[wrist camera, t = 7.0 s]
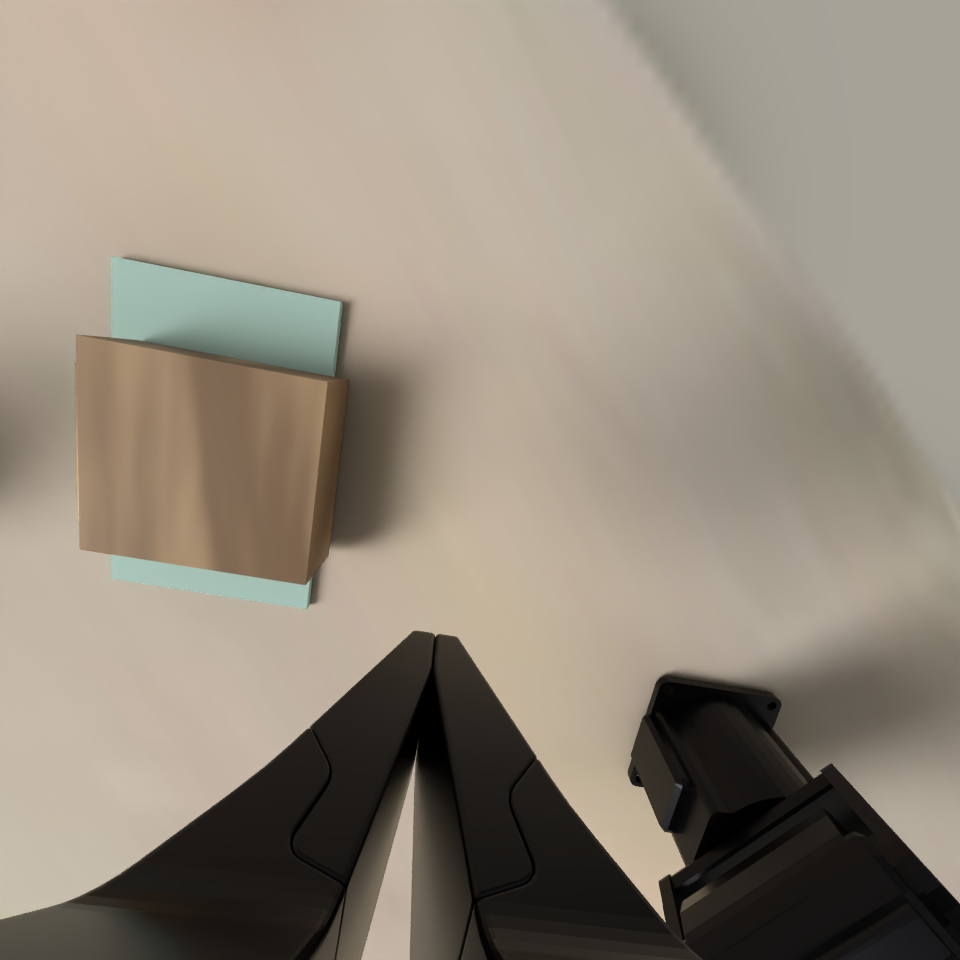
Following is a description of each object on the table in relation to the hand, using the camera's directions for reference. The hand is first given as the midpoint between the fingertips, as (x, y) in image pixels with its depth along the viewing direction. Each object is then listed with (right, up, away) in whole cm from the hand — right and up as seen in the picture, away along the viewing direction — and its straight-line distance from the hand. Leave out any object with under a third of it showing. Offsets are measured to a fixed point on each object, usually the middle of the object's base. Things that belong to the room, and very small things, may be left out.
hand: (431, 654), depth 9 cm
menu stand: (-5, +3, +10) cm, 12 cm away
